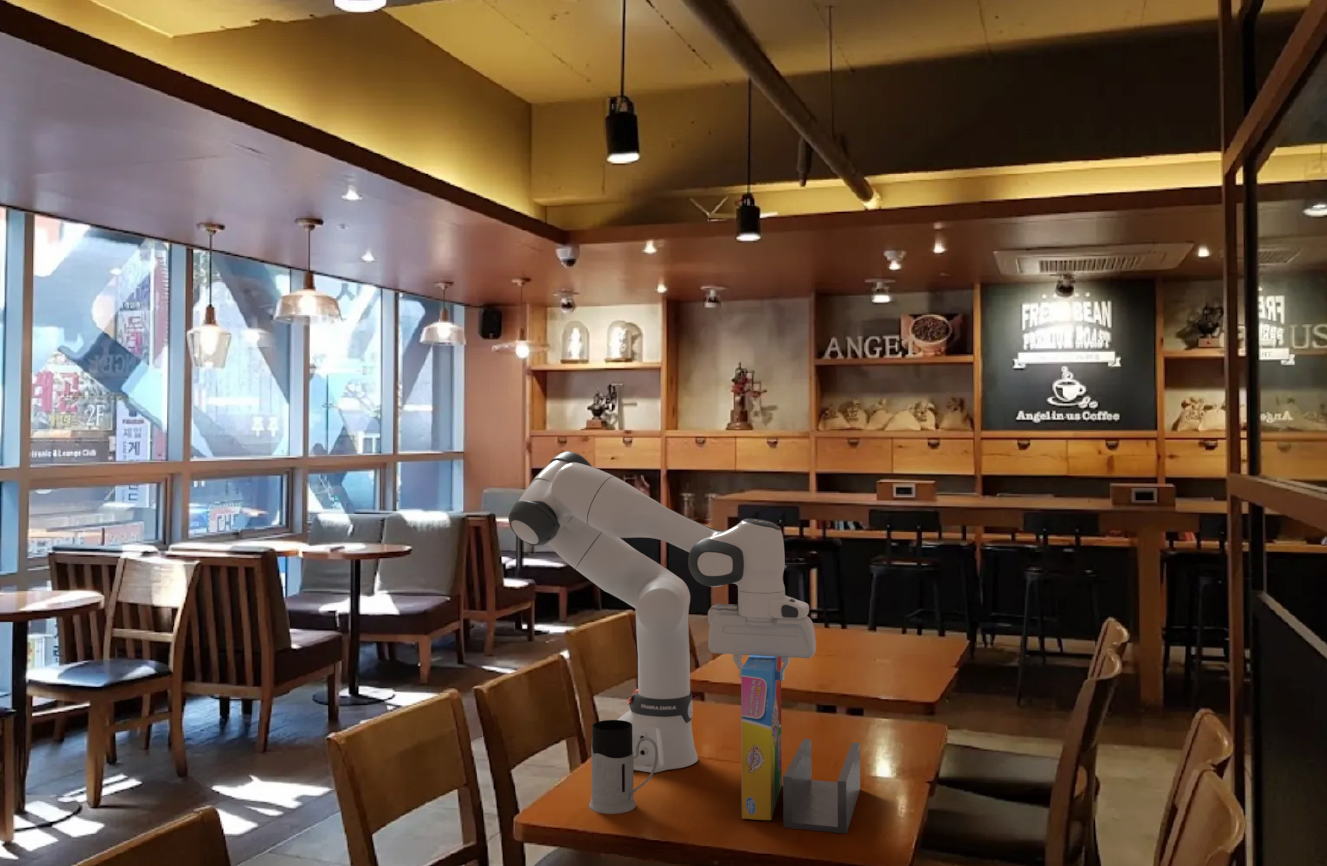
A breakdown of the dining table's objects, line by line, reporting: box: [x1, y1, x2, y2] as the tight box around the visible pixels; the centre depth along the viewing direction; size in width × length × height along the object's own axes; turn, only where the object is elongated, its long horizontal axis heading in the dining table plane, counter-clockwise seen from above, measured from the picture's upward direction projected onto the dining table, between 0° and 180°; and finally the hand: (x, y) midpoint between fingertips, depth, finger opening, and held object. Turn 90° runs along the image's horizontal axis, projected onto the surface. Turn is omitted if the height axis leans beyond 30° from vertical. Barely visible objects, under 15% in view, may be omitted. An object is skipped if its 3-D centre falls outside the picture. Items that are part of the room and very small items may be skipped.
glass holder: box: [588, 719, 658, 815], centre depth 195 cm, size 9×14×15 cm, turn 59°
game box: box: [740, 655, 783, 821], centre depth 198 cm, size 21×6×27 cm, turn 168°
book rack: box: [782, 738, 861, 834], centre depth 195 cm, size 11×24×9 cm, turn 164°
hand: (761, 678), depth 198 cm, fingers closed on game box, 5 cm apart
